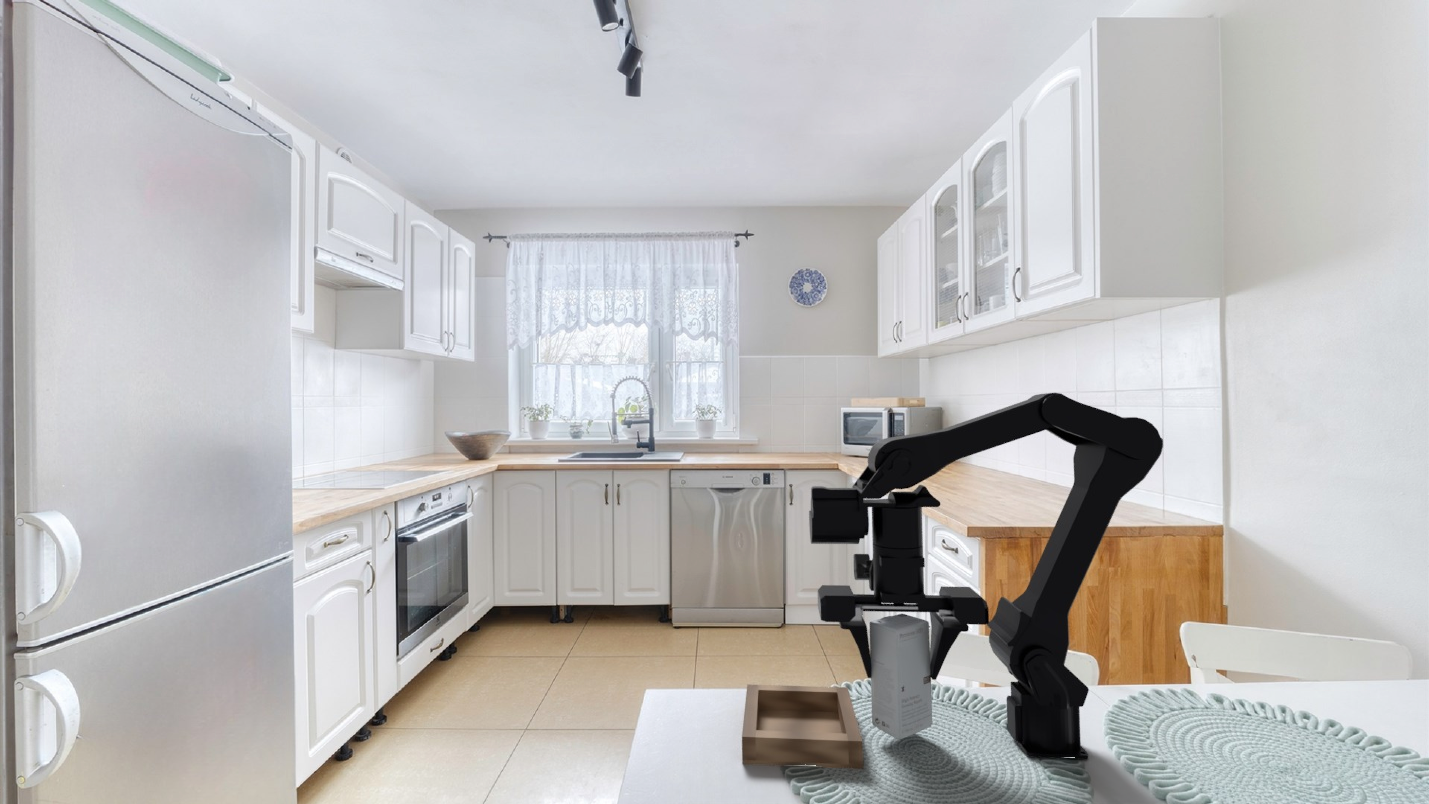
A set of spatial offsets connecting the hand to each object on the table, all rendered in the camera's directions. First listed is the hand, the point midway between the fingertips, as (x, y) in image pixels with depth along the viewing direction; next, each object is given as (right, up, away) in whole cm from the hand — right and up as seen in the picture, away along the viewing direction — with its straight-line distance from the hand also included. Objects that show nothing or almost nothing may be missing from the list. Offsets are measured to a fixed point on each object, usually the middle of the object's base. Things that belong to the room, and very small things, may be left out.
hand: (900, 677), depth 70 cm
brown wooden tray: (-12, -8, +1) cm, 14 cm away
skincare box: (0, -6, 0) cm, 6 cm away
